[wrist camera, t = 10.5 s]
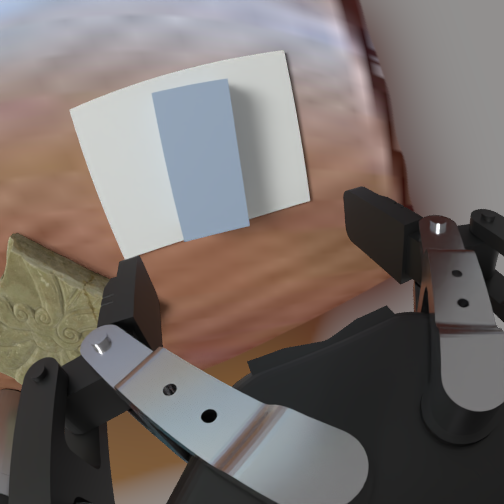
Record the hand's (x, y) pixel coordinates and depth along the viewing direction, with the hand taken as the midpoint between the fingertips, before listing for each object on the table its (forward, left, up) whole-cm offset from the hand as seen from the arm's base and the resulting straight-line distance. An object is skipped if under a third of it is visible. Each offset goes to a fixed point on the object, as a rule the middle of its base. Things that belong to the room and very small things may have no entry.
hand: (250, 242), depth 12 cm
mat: (0, 0, -18) cm, 18 cm away
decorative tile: (-22, -13, -19) cm, 32 cm away
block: (0, 0, -17) cm, 17 cm away
